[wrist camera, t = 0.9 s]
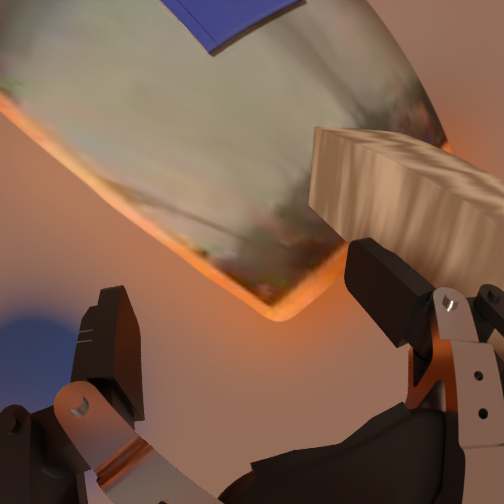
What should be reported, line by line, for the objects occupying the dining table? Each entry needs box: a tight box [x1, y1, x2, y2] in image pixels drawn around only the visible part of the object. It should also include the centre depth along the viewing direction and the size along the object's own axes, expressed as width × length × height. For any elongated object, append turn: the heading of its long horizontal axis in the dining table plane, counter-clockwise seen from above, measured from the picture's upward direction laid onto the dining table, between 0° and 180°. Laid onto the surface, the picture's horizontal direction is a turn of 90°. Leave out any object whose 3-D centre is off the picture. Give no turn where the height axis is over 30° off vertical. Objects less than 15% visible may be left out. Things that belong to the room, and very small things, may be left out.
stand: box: [309, 127, 504, 361], centre depth 21 cm, size 14×10×34 cm
